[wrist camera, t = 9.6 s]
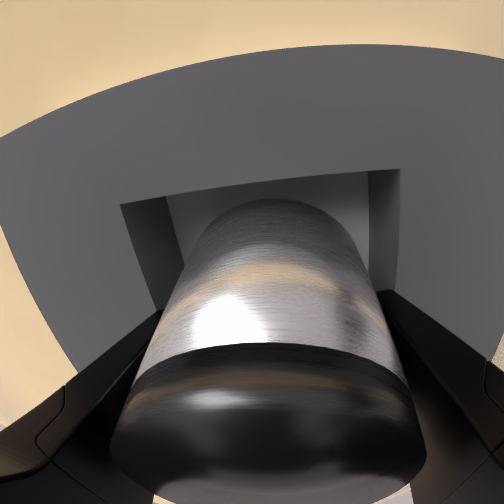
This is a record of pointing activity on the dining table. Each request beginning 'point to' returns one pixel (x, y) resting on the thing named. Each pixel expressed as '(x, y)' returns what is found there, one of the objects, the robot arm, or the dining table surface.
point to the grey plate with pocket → (265, 180)
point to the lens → (271, 372)
